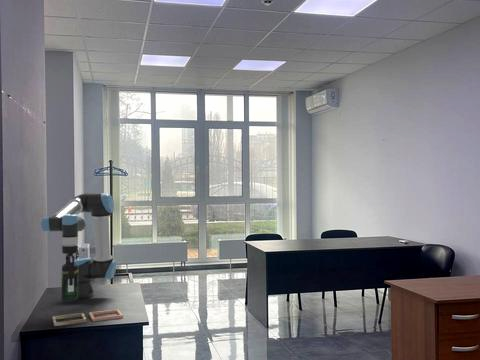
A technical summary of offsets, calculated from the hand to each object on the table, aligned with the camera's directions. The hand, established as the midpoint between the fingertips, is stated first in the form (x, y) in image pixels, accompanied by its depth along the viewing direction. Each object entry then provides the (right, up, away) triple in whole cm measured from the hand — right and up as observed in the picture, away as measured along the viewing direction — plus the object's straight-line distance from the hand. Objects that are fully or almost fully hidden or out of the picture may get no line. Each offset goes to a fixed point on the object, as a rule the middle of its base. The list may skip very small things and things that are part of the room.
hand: (69, 289), depth 234 cm
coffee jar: (0, -5, 0) cm, 5 cm away
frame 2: (+16, -16, +7) cm, 24 cm away
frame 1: (0, -16, -1) cm, 16 cm away
